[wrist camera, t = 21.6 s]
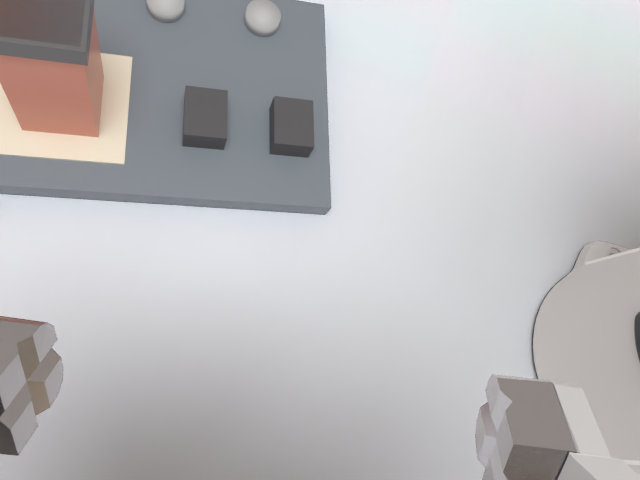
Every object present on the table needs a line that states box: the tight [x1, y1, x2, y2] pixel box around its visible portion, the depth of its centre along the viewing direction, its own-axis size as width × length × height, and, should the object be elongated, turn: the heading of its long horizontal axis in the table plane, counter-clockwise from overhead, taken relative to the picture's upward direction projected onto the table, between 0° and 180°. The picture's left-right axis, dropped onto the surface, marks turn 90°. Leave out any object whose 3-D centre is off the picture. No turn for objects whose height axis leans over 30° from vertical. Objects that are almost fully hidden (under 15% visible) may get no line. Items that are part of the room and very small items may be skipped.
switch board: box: [0, 0, 331, 215], centre depth 40 cm, size 24×17×3 cm
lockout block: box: [0, 0, 104, 137], centre depth 33 cm, size 5×5×10 cm
